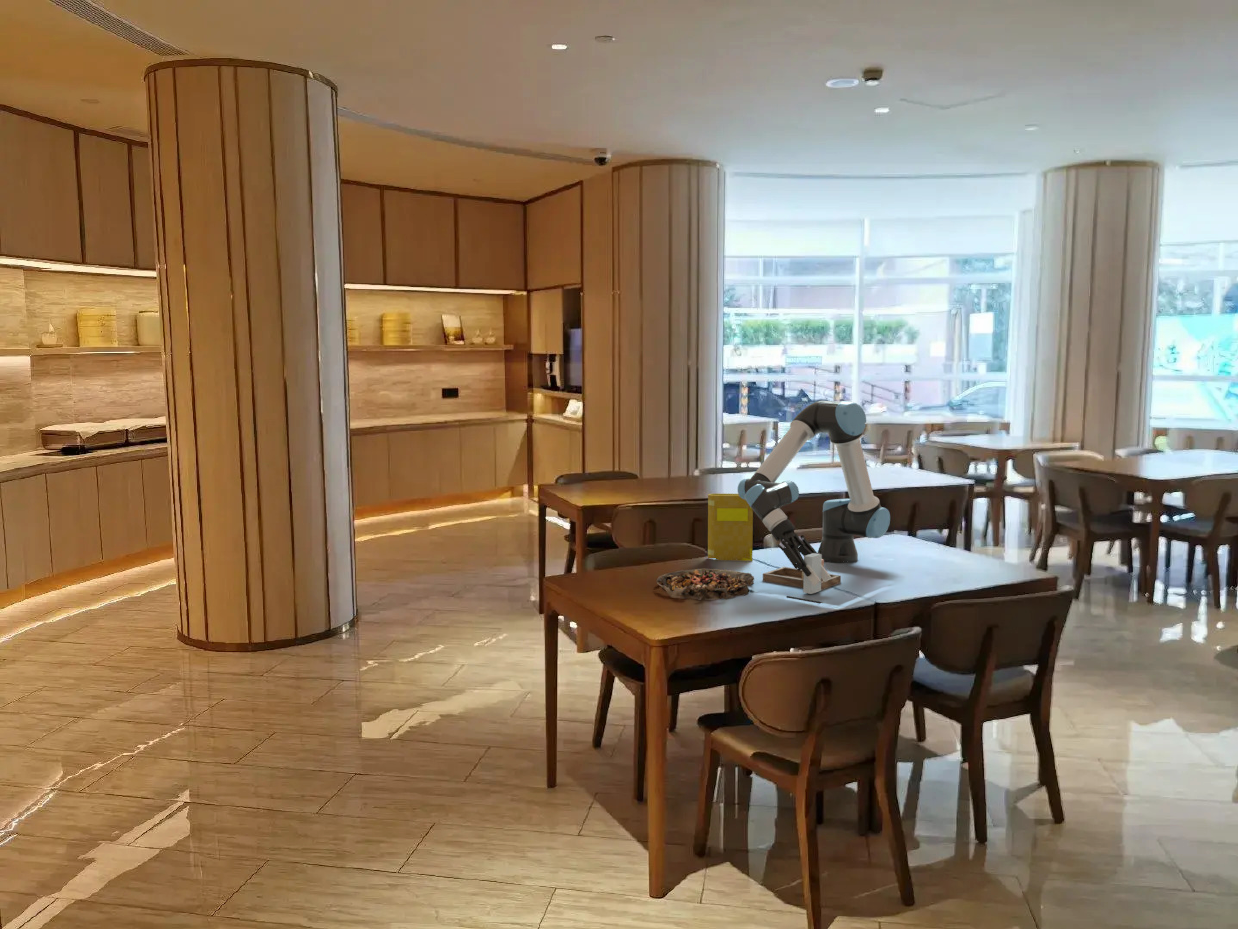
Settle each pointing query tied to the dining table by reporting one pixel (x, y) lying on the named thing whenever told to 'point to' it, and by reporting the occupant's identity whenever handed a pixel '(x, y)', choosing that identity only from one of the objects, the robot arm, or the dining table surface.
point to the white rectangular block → (815, 565)
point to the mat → (804, 599)
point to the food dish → (706, 584)
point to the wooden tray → (796, 578)
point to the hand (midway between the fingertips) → (822, 581)
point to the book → (729, 527)
